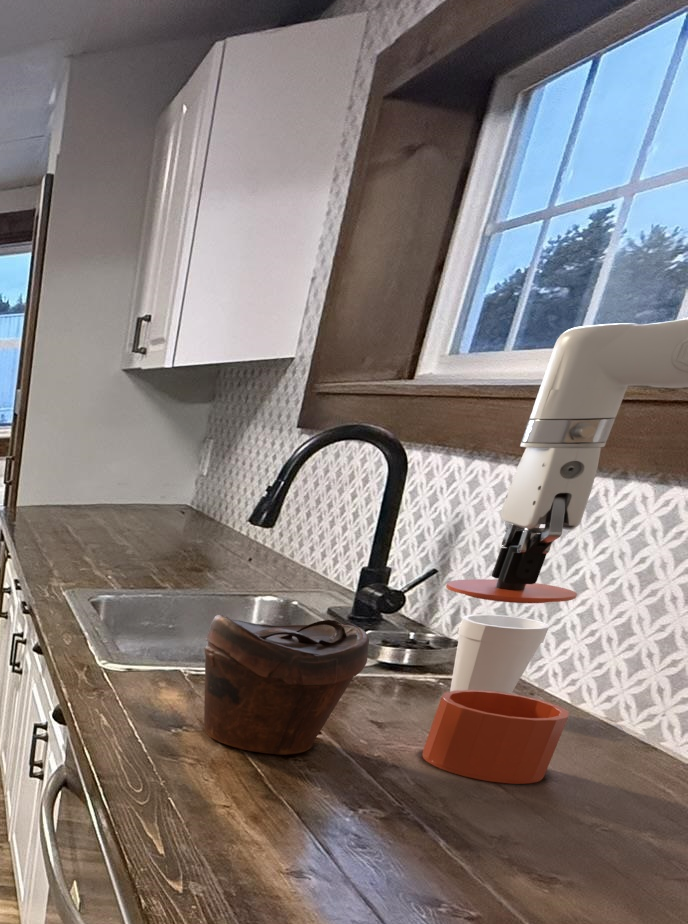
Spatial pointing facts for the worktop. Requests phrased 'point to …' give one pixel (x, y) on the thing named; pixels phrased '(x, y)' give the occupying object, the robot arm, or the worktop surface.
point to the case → (277, 681)
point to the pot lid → (510, 588)
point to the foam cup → (495, 651)
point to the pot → (494, 736)
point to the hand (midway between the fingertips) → (513, 579)
